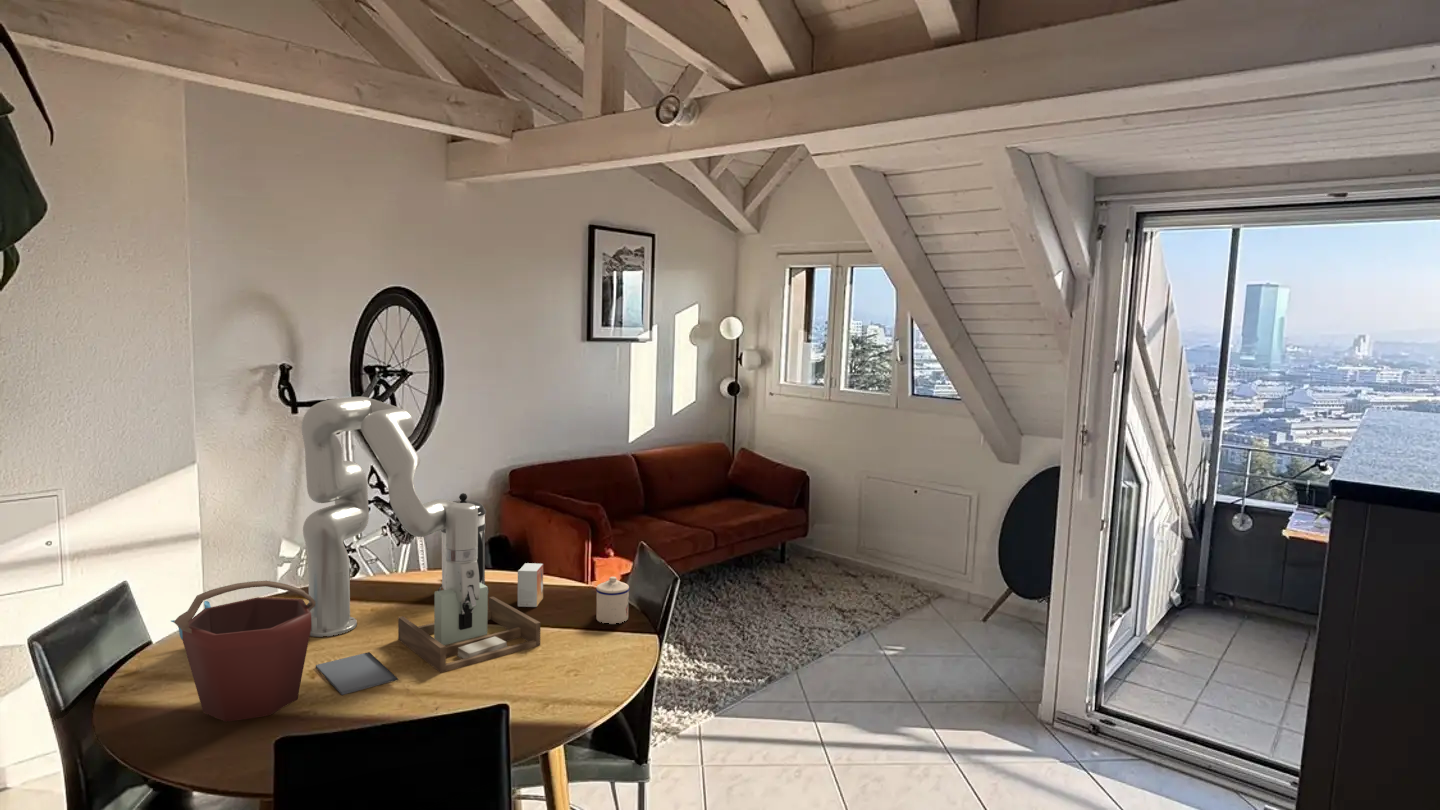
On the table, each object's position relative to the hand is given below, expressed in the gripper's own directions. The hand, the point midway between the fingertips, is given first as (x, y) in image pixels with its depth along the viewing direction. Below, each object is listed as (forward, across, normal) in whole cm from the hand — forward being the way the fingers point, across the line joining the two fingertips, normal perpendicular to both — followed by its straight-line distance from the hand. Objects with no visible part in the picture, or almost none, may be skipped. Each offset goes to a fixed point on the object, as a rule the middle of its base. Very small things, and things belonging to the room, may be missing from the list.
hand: (461, 624), depth 200 cm
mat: (+5, -2, +23) cm, 23 cm away
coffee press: (+5, +34, -17) cm, 38 cm away
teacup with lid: (+4, -8, -39) cm, 40 cm away
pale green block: (+4, 0, 0) cm, 4 cm away
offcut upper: (+3, -12, 0) cm, 12 cm away
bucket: (+5, -2, +47) cm, 47 cm away
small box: (+5, +16, -28) cm, 33 cm away
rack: (+5, -4, 0) cm, 6 cm away
